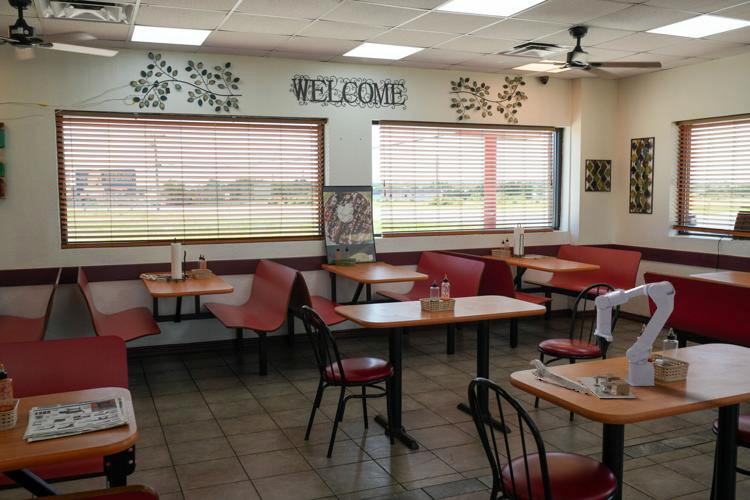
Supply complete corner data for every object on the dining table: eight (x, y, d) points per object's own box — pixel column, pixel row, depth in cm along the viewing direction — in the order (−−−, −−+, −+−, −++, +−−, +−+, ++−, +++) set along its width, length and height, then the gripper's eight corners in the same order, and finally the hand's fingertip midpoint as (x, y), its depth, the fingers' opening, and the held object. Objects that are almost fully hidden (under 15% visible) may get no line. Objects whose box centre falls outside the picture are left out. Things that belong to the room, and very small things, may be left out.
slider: (615, 382, 273) (615, 373, 273) (620, 386, 268) (620, 377, 268) (590, 382, 273) (590, 374, 272) (594, 386, 268) (595, 377, 267)
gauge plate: (609, 378, 283) (609, 367, 283) (635, 398, 257) (635, 385, 257) (576, 379, 283) (576, 367, 282) (599, 399, 257) (599, 386, 256)
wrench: (585, 402, 263) (527, 375, 287) (588, 401, 264) (530, 375, 288) (587, 382, 261) (529, 357, 285) (590, 382, 262) (532, 357, 286)
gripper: (588, 319, 293) (587, 350, 294) (601, 326, 278) (600, 358, 280) (604, 319, 293) (603, 349, 294) (617, 326, 279) (616, 358, 280)
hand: (603, 354), depth 287 cm, fingers closed
